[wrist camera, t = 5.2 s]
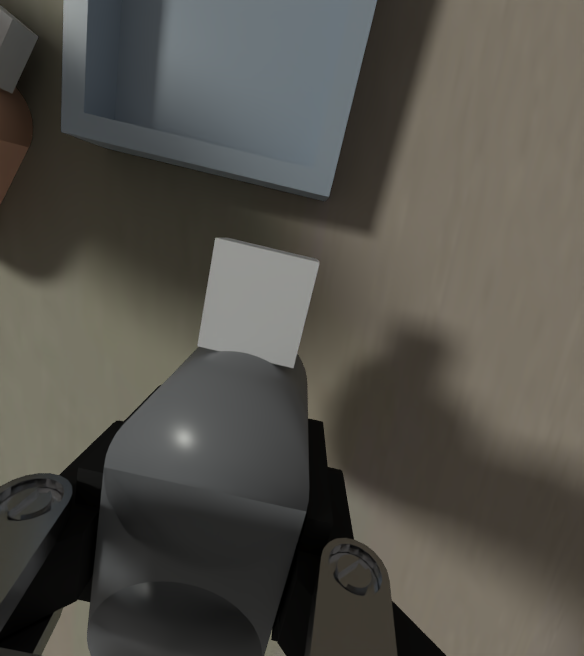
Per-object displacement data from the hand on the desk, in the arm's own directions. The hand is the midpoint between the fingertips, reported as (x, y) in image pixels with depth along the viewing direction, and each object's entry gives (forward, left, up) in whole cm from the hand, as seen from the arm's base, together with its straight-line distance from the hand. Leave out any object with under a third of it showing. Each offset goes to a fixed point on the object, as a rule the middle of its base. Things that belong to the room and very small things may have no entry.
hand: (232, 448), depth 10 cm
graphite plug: (+1, +1, 0) cm, 1 cm away
